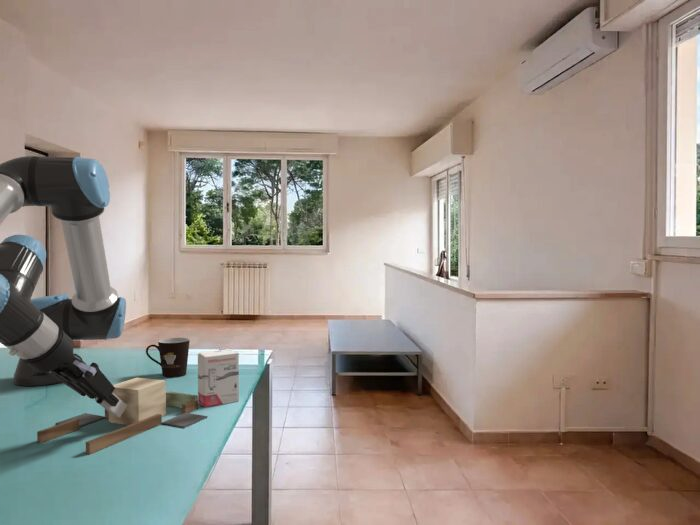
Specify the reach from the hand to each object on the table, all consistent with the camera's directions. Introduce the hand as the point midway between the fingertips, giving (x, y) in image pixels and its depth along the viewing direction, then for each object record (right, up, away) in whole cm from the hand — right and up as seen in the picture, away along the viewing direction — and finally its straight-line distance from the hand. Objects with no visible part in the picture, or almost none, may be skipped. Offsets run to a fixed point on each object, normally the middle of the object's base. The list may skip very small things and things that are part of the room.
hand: (121, 410), depth 105 cm
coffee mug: (-5, -2, +43) cm, 44 cm away
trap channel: (0, -3, +2) cm, 4 cm away
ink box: (+16, -3, +17) cm, 23 cm away
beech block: (+1, -3, +5) cm, 6 cm away
